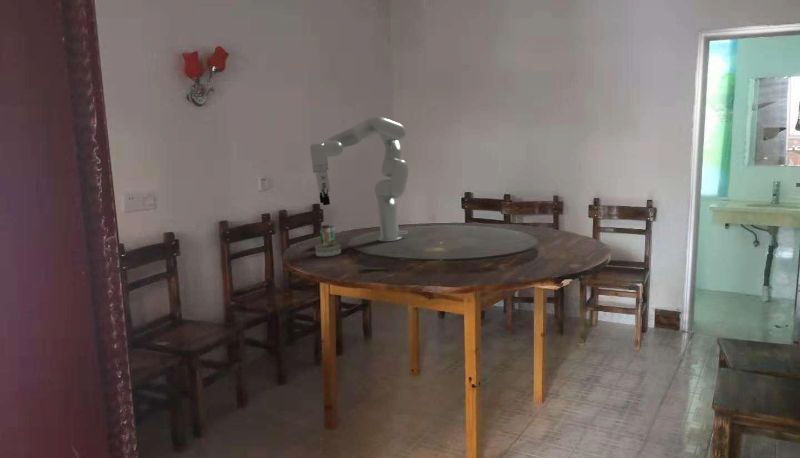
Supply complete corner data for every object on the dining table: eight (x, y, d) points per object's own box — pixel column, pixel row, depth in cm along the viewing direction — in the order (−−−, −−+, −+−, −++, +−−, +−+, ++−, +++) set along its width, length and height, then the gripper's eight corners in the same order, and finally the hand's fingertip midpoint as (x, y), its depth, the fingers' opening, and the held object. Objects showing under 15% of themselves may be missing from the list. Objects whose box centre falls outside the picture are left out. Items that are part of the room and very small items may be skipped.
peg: (332, 252, 311) (328, 224, 308) (333, 253, 307) (330, 225, 305) (324, 253, 310) (320, 225, 308) (325, 254, 306) (321, 226, 304)
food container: (333, 248, 322) (330, 228, 320) (321, 248, 323) (319, 229, 322) (340, 243, 334) (337, 224, 332) (329, 243, 335) (326, 225, 333)
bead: (338, 249, 316) (337, 242, 315) (342, 254, 304) (341, 246, 303) (315, 253, 313) (314, 245, 312) (317, 257, 301) (317, 249, 301)
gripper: (331, 168, 295) (335, 204, 298) (325, 167, 312) (330, 200, 315) (315, 170, 294) (319, 206, 297) (310, 168, 310) (315, 203, 313)
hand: (325, 203), depth 306 cm, fingers open, 9 cm apart
